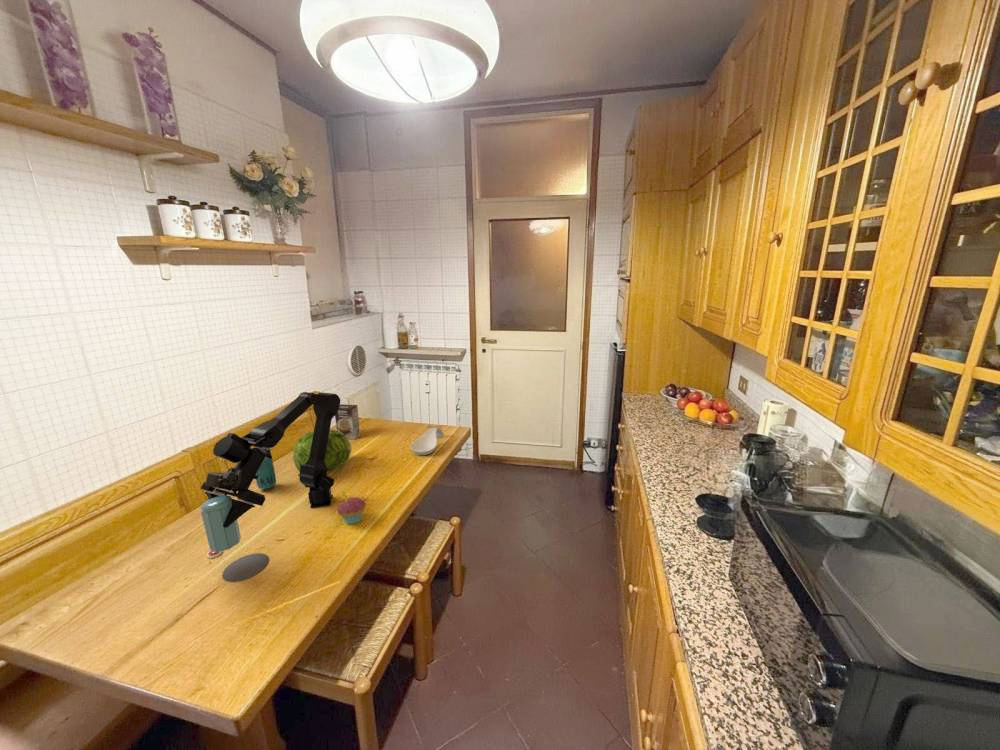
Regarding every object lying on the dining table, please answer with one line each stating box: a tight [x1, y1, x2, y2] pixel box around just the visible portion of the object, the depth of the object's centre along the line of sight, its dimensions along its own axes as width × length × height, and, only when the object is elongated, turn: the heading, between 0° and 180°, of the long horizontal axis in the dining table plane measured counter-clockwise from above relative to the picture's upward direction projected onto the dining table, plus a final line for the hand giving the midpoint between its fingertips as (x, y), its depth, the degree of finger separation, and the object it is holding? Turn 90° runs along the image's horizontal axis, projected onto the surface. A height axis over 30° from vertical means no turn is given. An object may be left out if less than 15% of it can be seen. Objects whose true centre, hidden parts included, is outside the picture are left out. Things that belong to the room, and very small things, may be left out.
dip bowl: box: [206, 549, 223, 559], centre depth 115 cm, size 4×4×1 cm
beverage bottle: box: [255, 447, 277, 490], centre depth 149 cm, size 6×7×20 cm
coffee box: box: [334, 403, 361, 440], centre depth 196 cm, size 9×6×16 cm
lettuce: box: [292, 429, 352, 473], centre depth 164 cm, size 18×23×19 cm
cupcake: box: [336, 487, 367, 525], centre depth 129 cm, size 9×8×12 cm
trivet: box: [221, 552, 270, 583], centre depth 109 cm, size 11×11×1 cm
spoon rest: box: [410, 427, 445, 456], centre depth 183 cm, size 24×12×7 cm, turn 167°
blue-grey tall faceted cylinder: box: [200, 495, 242, 552], centre depth 108 cm, size 7×7×13 cm
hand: (215, 524), depth 107 cm, fingers closed on blue-grey tall faceted cylinder, 7 cm apart
